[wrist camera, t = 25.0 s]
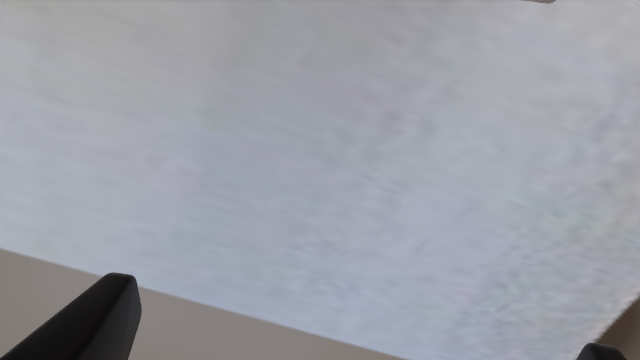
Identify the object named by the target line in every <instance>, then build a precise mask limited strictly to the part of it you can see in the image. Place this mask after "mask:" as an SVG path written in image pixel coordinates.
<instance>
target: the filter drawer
mask: <svg viewBox="0 0 640 360" xmlns="http://www.w3.org/2000/svg"><path fill="white" fill-rule="evenodd" d="M523 1H532V2H540V3H548V4H549V3H552V2H554V1H555V0H523Z"/></svg>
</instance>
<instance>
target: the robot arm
mask: <svg viewBox="0 0 640 360" xmlns="http://www.w3.org/2000/svg"><path fill="white" fill-rule="evenodd" d="M141 309H142V308H141V302H140V297H139V292H138V286H137V281H136V279H135V277H134V276H132V275H128V274H121V273H109V274H106V275H105V276H104V277H102V278H101V279H100V280H99V281H97V282H96V283H95V284H93V285H92V286H91V287H90V288H88V289H87V290H86V291H85V292H83V293H82V294H81V295H80V296H78V297H77V298H76V299H74V300H73V301H72V302H71V303H69V304H68V305H67V306H66V307H64V308H63V309H62V310H61V311H59V312H58V313H57V314H55V315H54V316H53V317H52V318H50V319H49V320H48V321H47V322H45V323H44V324H43V325H42V326H40V327H39V328H38V329H36V330H35V331H34V332H33V333H31V334H30V335H29V336H28V337H26V338H25V339H24V340H23V341H21V342H20V343H19V344H17V345H16V346H15V347H14V348H12V349H11V350H10V351H9V352H7V353H6V354H5V355H4V356H2V357H1V358H0V360H128V357H129V354H130V351H131V348H132V345H133V341H134V338H135V335H136V332H137V329H138V325H139V322H140V317H141ZM576 360H627V359H626V358H625V357H624V356H623V355H622V353H621V352H620V351H619V350H618V349H616V348H615V347H613V346H609V345H602V344H596V343H589V344H587V345H585V346H584V348H583V349H582V351H581V353H580V354H579V356H578V358H577V359H576Z"/></svg>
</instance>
